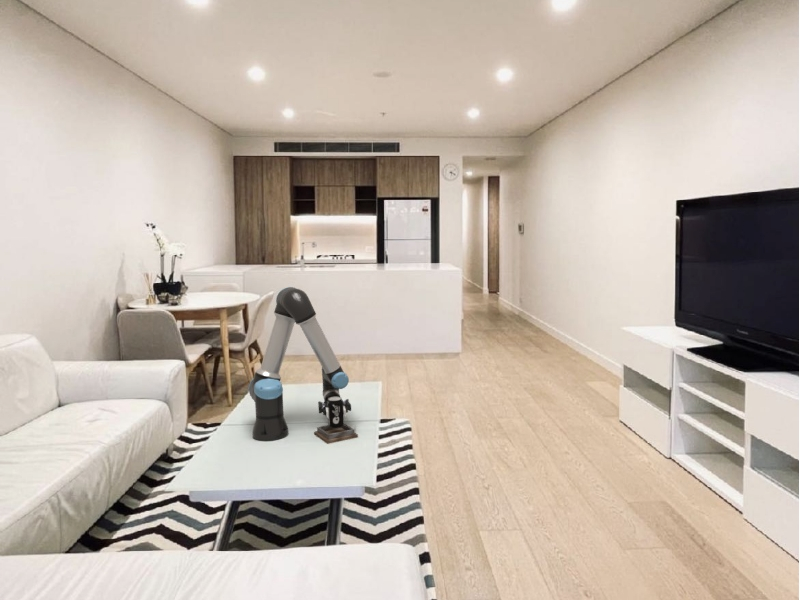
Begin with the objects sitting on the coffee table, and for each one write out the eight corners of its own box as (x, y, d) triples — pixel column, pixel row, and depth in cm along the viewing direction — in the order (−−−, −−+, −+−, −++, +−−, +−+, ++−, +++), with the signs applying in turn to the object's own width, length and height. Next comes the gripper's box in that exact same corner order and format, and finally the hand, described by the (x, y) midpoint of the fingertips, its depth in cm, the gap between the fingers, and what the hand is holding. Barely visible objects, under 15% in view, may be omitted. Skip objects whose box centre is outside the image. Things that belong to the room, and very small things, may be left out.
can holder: (327, 443, 233) (326, 436, 233) (314, 434, 245) (313, 427, 245) (357, 437, 240) (357, 429, 240) (343, 428, 252) (343, 421, 252)
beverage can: (347, 425, 243) (345, 397, 242) (335, 429, 238) (334, 401, 237) (336, 422, 247) (335, 395, 246) (325, 426, 242) (323, 398, 241)
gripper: (354, 405, 262) (360, 420, 239) (311, 409, 258) (313, 425, 236) (353, 389, 261) (359, 403, 238) (310, 393, 257) (312, 407, 235)
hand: (336, 414), depth 237 cm, fingers closed on beverage can, 6 cm apart
